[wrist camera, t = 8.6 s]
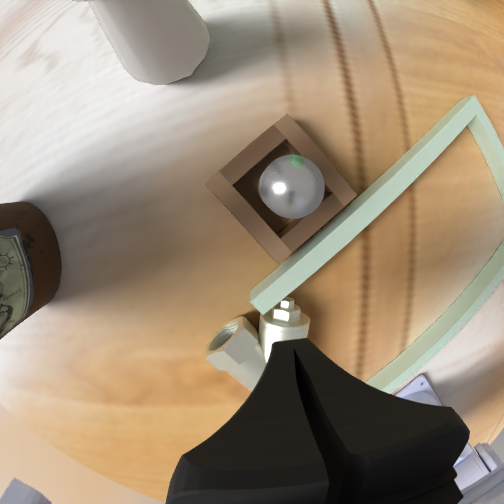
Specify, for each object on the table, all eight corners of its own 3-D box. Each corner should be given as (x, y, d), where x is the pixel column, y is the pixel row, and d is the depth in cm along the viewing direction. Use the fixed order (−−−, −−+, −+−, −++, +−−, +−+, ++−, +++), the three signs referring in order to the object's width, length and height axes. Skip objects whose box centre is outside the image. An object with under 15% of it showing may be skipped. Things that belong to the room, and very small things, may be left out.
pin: (309, 189, 18) (337, 190, 12) (277, 218, 18) (290, 231, 12) (281, 157, 17) (295, 141, 12) (248, 185, 18) (247, 183, 12)
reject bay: (520, 229, 18) (533, 232, 16) (357, 398, 22) (364, 412, 20) (460, 99, 16) (474, 94, 14) (250, 290, 19) (250, 302, 17)
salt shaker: (121, 65, 16) (13, -21, 3) (180, 16, 15) (125, -103, 2) (166, 110, 17) (50, 14, 4) (231, 57, 16) (208, -88, 3)
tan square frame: (347, 194, 18) (357, 195, 16) (275, 257, 19) (278, 264, 17) (283, 120, 17) (287, 113, 15) (209, 184, 18) (205, 184, 16)
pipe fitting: (278, 278, 20) (207, 337, 20) (288, 296, 16) (202, 364, 16) (339, 349, 21) (275, 397, 22) (357, 374, 17) (281, 428, 18)
